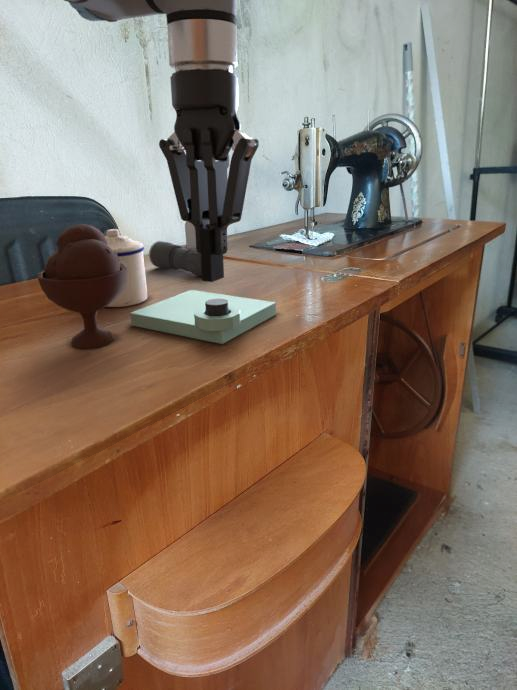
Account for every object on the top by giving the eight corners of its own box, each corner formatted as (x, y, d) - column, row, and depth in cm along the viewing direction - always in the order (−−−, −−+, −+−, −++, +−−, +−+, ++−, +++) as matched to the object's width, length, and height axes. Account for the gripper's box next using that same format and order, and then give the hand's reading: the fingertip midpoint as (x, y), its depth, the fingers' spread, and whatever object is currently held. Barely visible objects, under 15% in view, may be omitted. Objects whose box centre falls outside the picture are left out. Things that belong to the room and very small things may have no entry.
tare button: (201, 316, 67) (200, 303, 66) (214, 309, 69) (214, 297, 69) (220, 319, 66) (219, 306, 65) (233, 313, 68) (232, 300, 67)
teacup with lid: (153, 292, 91) (146, 224, 86) (143, 307, 82) (135, 233, 78) (84, 294, 90) (74, 226, 86) (68, 309, 82) (55, 235, 78)
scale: (126, 327, 73) (123, 303, 72) (191, 300, 85) (190, 280, 84) (224, 348, 65) (222, 321, 64) (281, 315, 77) (281, 292, 75)
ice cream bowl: (36, 340, 69) (15, 226, 64) (114, 322, 76) (100, 217, 70) (66, 363, 61) (44, 236, 56) (150, 340, 68) (137, 224, 63)
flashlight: (219, 274, 102) (218, 247, 100) (199, 280, 98) (197, 251, 96) (170, 264, 112) (168, 239, 110) (150, 269, 108) (147, 243, 106)
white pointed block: (206, 243, 134) (204, 204, 131) (201, 248, 128) (198, 207, 125) (192, 243, 135) (190, 204, 131) (186, 248, 129) (183, 207, 125)
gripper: (271, 70, 57) (272, 278, 66) (180, 78, 63) (191, 267, 72) (233, 62, 51) (239, 293, 60) (136, 72, 57) (154, 279, 66)
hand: (213, 278), depth 66 cm, fingers closed
